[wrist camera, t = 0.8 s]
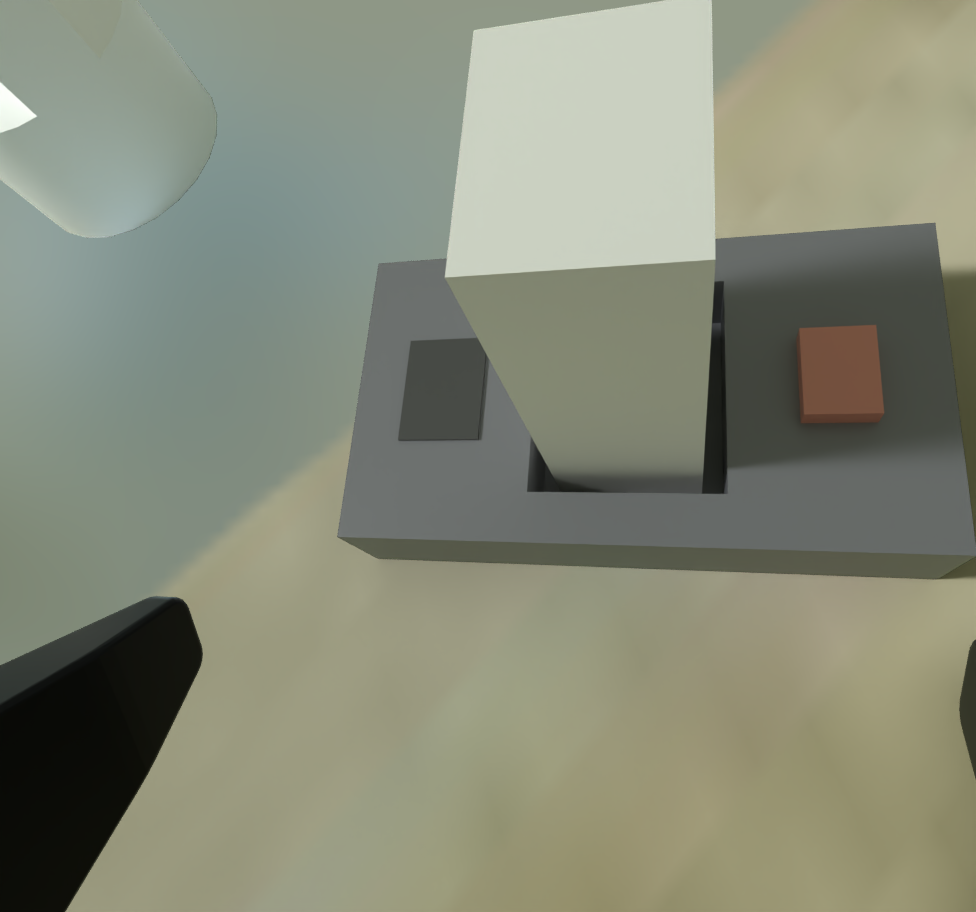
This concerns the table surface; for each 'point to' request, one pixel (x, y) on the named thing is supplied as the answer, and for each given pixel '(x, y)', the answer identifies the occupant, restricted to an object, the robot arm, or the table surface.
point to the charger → (594, 237)
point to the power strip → (728, 438)
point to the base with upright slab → (97, 114)
